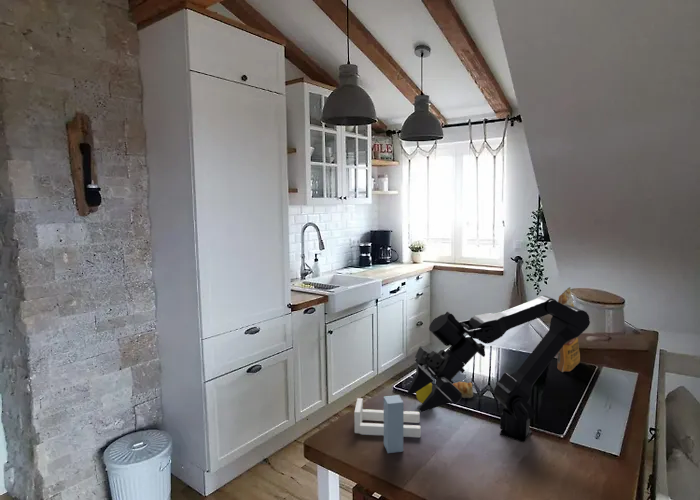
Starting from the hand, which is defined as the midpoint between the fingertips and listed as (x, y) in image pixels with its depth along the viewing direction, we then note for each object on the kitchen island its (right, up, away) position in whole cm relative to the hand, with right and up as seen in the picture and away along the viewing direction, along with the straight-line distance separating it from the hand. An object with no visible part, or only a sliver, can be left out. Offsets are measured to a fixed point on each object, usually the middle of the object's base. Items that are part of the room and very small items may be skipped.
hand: (414, 401), depth 113 cm
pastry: (+19, -8, +30) cm, 37 cm away
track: (-5, -10, +11) cm, 16 cm away
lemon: (+7, -9, +23) cm, 25 cm away
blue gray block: (-5, -12, +1) cm, 13 cm away
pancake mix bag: (+63, -4, +52) cm, 82 cm away
